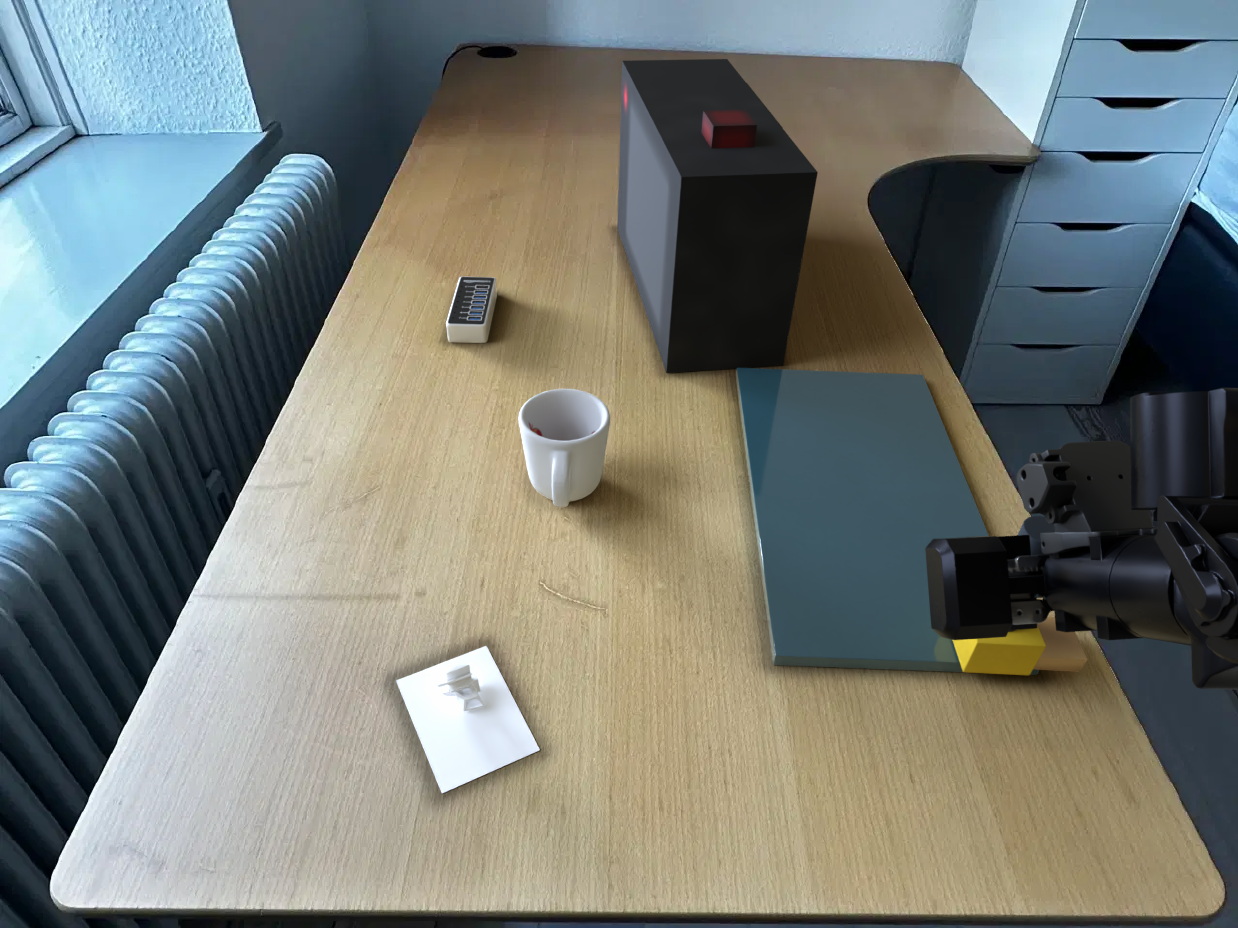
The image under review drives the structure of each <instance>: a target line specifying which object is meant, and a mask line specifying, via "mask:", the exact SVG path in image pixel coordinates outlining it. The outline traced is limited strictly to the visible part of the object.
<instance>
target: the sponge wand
mask: <svg viewBox="0 0 1238 928" xmlns="http://www.w3.org/2000/svg"><path fill="white" fill-rule="evenodd" d="M1047 532H1054V526H1053V525H1052V524H1049V523H1048V522H1047V520H1046V518H1045V516H1044V515H1031V516H1029V517H1027V518H1025V519H1024V521H1023V523H1022V524H1021V526H1020V528H1019V531H1018V533H1017V535H1030V546H1031V555H1047V554H1043V553H1042V549H1041V537H1040V533H1047ZM1042 572H1043V571H1042ZM953 643H954V646H955V649H956V652H957V655H958V658H959V661H960V664H961V667H962V670H963V672H962V673H969V674H970V673H971V674H972V673H973V674H991V675H1011V676H1012V675H1014V676H1031V675H1030V674H1031V672H1032V670H1033V668H1034V667H1035V665H1036V663H1037V661H1038V660H1039V658H1040V656H1041V654H1042V653H1043V651H1044V649H1045V647H1046V645H1045V642H1044V640H1043V637H1042V635H1041V633H1040V630H1039V628H1038V626H1037V628H1036V629H1021V630H1009V632H1008V634H1007V636H1006V637H997V638H982V639H967V640H953Z"/></svg>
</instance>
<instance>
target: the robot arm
mask: <svg viewBox="0 0 1238 928" xmlns="http://www.w3.org/2000/svg"><path fill="white" fill-rule="evenodd" d="M1129 435H1130V437H1129V440H1130V441H1129V442H1130V444H1129V445H1128V444H1127V443H1126V442H1123V441H1121V440H1097V441H1076V442H1075V441H1074V442H1073V441H1072V442H1067V443H1064V444H1063V445H1061V446H1060V447H1059V448H1053V449H1046V450H1045V451H1043V452H1033V453H1031V454H1030V455H1029V457H1028V458H1029V459H1028V462H1026V464H1024V465H1023V466H1022V467H1021V468H1019V470H1018V471H1017V473H1016V484H1017V487H1018V491H1019V494H1020V497H1021V498H1020V499H1021V501H1022V504H1023V508H1024V510H1025V511H1026V512H1027V513H1029V514H1031V515H1035V514H1037V515H1038V514H1039V515H1041V516H1043V517H1045V518H1046V520H1047V522H1048V523H1049V524H1052V525H1053V526H1054V532H1047V533H1040V537H1041V549H1042V553H1043V554H1047V555H1031V546H1030V535H1018V534H1015V535H989V536H978V537H957V538H939V539H932V541H931V542H930V543H929V544H928V545H927V547H926V548H925V551H926V565H927V578H928V591H929V604H930V617H931V629H932V630H934V631H935V632H936V633H937V634H938V635H939V636H940V637H943V638H947V639H951V640H967V639H982V638H997V637H1006V636H1007V634H1008V632H1009V630H1021V629H1036V628H1037V623H1042V622H1044V621H1045V620H1046V619H1047V617H1048V616H1049V615H1050V613H1051V612H1054V617H1055V625H1056V631H1061V632H1075V633H1076V632H1077V633H1078V632H1092V631H1093V632H1094V631H1097V632H1096V633H1097V639H1098V640H1105V641H1120V640H1134V639H1137V640H1138V639H1149V640H1154V641H1161V642H1166V643H1172V644H1178V645H1184V646H1189V647H1190V648H1191V649H1190V652H1191V682H1192V684H1193V686H1194V687H1195V688H1197V689H1199V690H1235V691H1236V690H1238V387H1220V388H1217V389H1212V390H1200V391H1199V390H1198V391H1181V392H1143V393H1138V394H1135V395H1133V396H1131V397H1130V398H1129ZM1154 510H1155V511H1154ZM1151 511H1153V512H1152V515H1151ZM1152 519H1153V520H1152ZM1153 522H1156V523H1157V526H1154V525H1153V524H1154V523H1153ZM1042 571H1043V572H1042Z"/></svg>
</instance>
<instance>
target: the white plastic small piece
mask: <svg viewBox="0 0 1238 928" xmlns="http://www.w3.org/2000/svg"><path fill="white" fill-rule="evenodd" d="M445 679H446V682H444V683H440V684H438V685H437V687H438V688H440V689H439V690H440V694H441V695H443V696H445V697H454V696H455V697H456V699H457V701H458V703H459V705H460V708H461V710H462V711H463V712H467V711H472V710H476V709H481V708H485V707H486V704H485V703H484V701H483V699H482V697H481V696H480V694H479V693H480V692H481V686H480V681H479V677H478V675H477V674H475V675H473V673H472V672H471V665H470V664H457V665H455V666H454V667H453V668H452V669H450V670H449V671H448V672H447V673H446V674H445Z"/></svg>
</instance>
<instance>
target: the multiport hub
mask: <svg viewBox="0 0 1238 928" xmlns="http://www.w3.org/2000/svg"><path fill="white" fill-rule="evenodd" d="M497 299H498V287H497V278H496V277H492V276H460V277H459V278H458V281H457V283H456V288H455V291H454V294H453V298H452V301H451V305H450V308H449V312H448V315H447V319H446V322H445V326H446V335H447V341H448V342H449V343H462V344H463V343H465V344H466V343H467V344H468V343H469V344H486V343H487V342H488V340H489V336H490V331H491V327H492V321H493V317H494V312H495V308H496V303H497Z"/></svg>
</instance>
